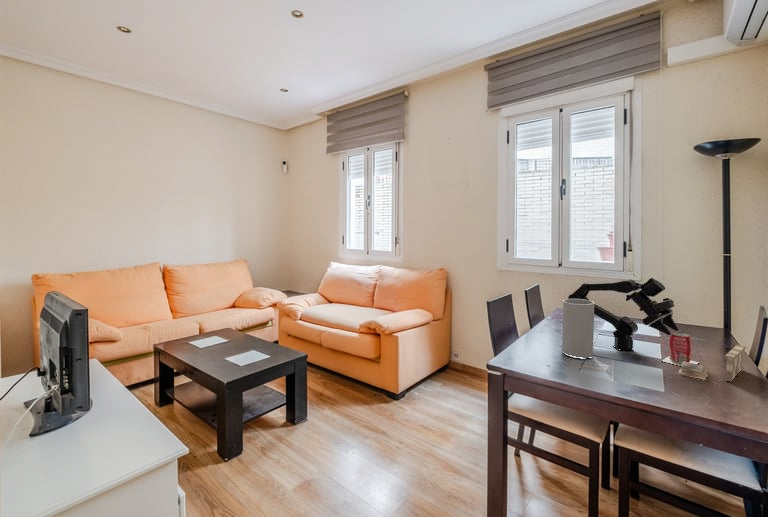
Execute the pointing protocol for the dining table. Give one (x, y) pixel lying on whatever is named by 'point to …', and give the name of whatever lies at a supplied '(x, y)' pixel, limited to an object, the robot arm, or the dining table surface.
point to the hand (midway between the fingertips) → (673, 332)
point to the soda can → (680, 347)
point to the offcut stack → (693, 370)
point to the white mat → (675, 362)
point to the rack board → (734, 362)
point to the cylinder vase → (578, 327)
